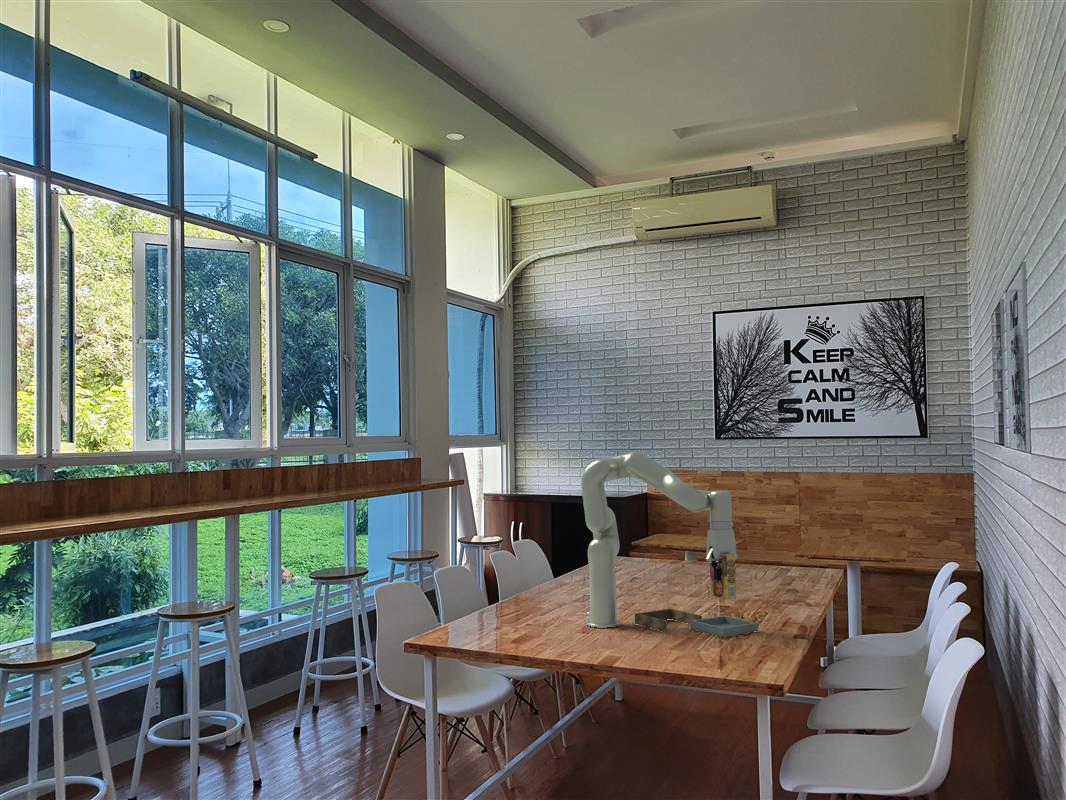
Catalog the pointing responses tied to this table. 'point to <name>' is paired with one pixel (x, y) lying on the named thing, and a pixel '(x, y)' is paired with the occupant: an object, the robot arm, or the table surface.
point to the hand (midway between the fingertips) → (722, 578)
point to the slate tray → (724, 626)
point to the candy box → (724, 578)
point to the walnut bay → (663, 618)
